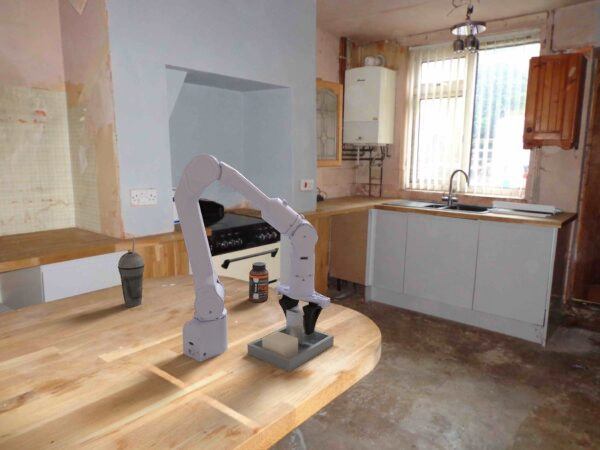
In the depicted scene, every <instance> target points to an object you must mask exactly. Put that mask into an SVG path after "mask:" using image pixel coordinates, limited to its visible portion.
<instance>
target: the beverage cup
mask: <svg viewBox="0 0 600 450" xmlns="http://www.w3.org/2000/svg"><path fill="white" fill-rule="evenodd" d="M135 245H136V236H133V237H132V246H131V247H132V248H131V249H132V250H131V251H128V252H126V253H124V254H123V255H121V257H120V258H119V260H118V265H117V268H118V269H117V270H118V273H119V275H120V282H121V287H122V288H121V289H122V295H123V300H124V305H125V306H126V307H131V308H133V307H138V306H140V305H142V303H143V302H142V298H143V287H144V286H143V284H144V283H143V282H144V281H143V280H144V270H145V266H146V265H145V261H144V259H143V258H142V256H141V255H140V254H139V253H138V252H135Z"/></svg>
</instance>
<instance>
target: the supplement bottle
mask: <svg viewBox="0 0 600 450" xmlns="http://www.w3.org/2000/svg"><path fill="white" fill-rule="evenodd" d="M269 276H270V275H269V271H268V269H267V266H266V263H265V262H262V261H258V262H257V261H256V262H253V263H252V266H251V269H250V270H249V272H248V299H249V300H250V301H252V302H256V303H261V302H266V301H268V299H269V294H270V293H269V292H270V291H269V284H270V283H269V280H270V279H269V278H270V277H269Z"/></svg>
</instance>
